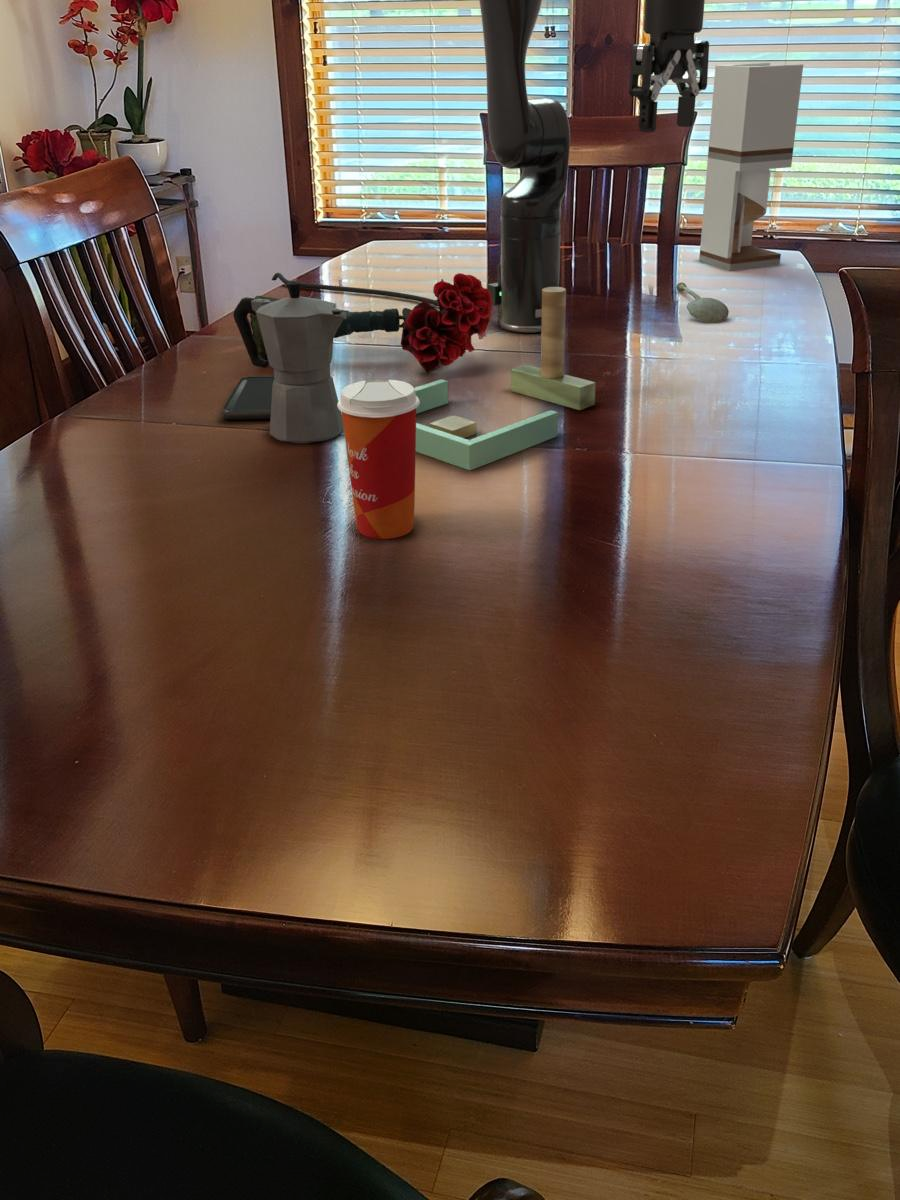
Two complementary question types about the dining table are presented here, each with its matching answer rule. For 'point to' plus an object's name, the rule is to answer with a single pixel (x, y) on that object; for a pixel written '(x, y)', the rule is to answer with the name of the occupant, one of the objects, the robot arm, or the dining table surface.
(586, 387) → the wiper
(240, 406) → the phone
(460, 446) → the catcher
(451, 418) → the beige square block
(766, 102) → the white pillar
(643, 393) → the dining table surface
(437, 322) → the carnation
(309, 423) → the coffeepot
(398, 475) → the paper cup
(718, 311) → the soupspoon
